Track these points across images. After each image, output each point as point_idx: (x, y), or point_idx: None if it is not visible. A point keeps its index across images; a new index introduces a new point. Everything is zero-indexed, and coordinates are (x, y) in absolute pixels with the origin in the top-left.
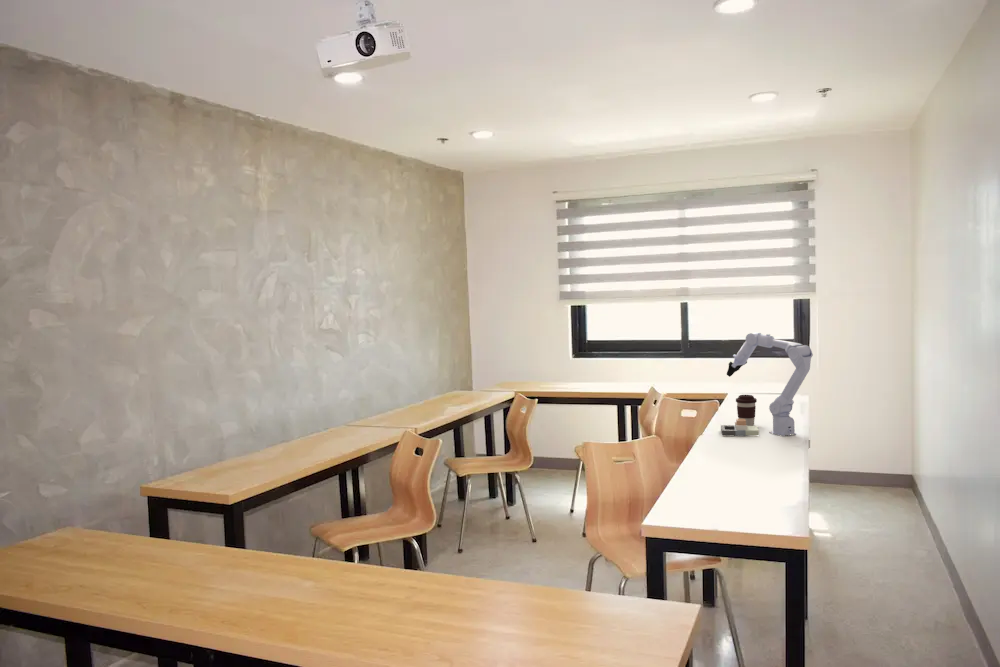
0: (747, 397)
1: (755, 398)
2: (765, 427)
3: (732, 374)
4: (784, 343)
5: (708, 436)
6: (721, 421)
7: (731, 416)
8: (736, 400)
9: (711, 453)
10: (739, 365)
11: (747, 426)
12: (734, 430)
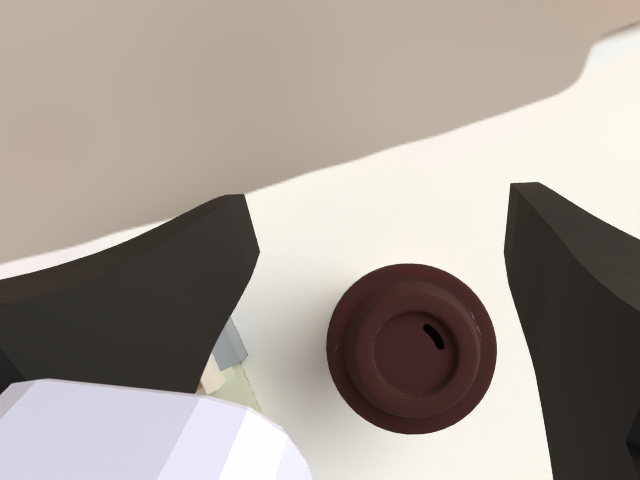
0: (362, 386)
1: (463, 413)
2: (377, 429)
3: (231, 298)
4: None
5: (38, 259)
6: (421, 160)
7: (589, 148)
8: (351, 286)
9: None
10: (546, 366)
11: (221, 393)
12: None
